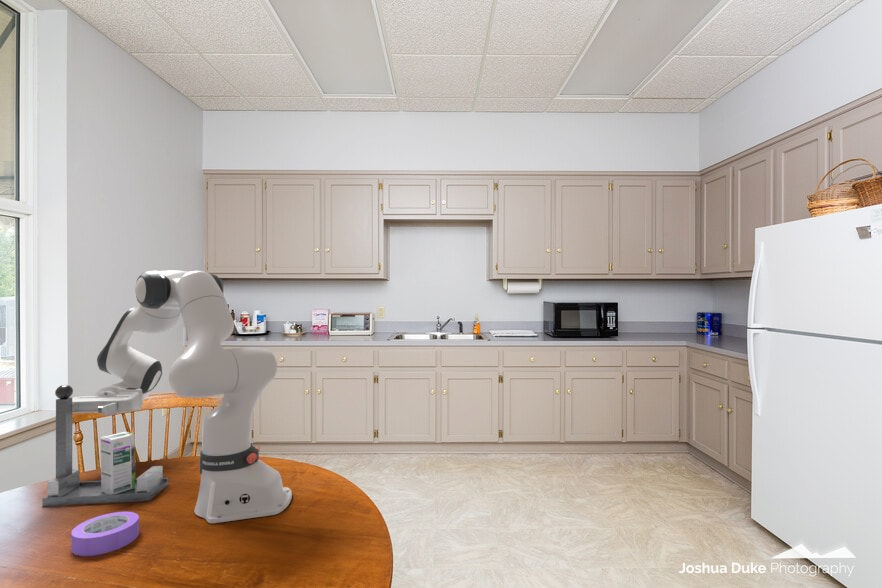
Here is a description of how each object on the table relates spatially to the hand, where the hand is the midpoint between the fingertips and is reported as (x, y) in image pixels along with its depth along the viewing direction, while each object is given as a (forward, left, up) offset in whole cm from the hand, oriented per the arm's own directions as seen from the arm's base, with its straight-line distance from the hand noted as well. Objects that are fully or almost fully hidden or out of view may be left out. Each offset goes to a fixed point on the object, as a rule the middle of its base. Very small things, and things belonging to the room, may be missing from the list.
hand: (82, 410), depth 126 cm
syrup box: (-13, +7, -20) cm, 25 cm away
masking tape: (-24, +31, -21) cm, 44 cm away
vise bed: (-11, +7, -21) cm, 24 cm away
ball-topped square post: (0, +7, -19) cm, 21 cm away
